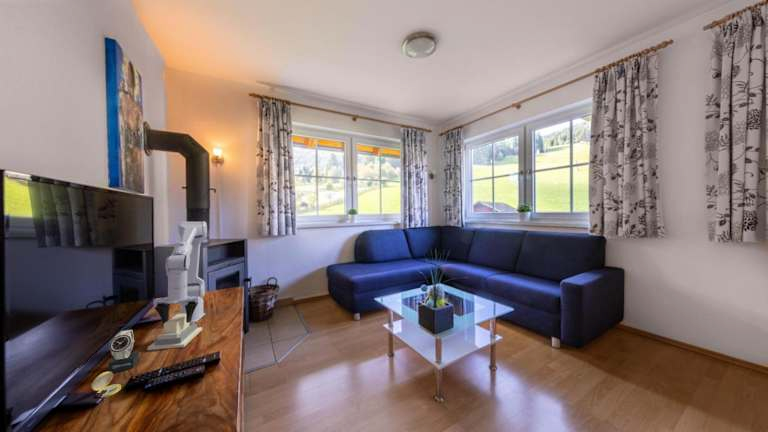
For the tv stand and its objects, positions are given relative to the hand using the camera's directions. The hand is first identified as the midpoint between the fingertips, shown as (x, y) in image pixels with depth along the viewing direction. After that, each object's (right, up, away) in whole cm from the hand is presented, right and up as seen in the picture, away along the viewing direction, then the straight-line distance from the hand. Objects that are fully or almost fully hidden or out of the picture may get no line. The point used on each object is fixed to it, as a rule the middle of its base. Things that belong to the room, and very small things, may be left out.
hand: (177, 322), depth 97 cm
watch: (-2, -7, -18) cm, 19 cm away
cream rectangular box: (0, -3, 0) cm, 3 cm away
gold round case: (+5, -7, -29) cm, 30 cm away
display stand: (0, -6, 0) cm, 6 cm away
